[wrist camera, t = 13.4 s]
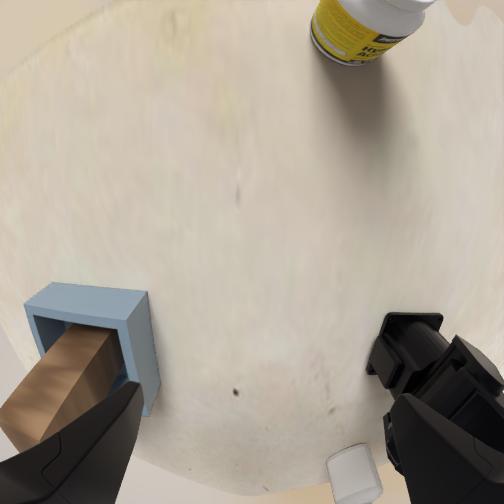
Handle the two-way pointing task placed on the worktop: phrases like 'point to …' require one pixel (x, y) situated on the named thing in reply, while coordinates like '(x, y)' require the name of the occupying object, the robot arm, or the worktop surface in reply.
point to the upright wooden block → (62, 384)
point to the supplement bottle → (364, 27)
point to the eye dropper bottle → (354, 476)
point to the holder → (103, 315)
